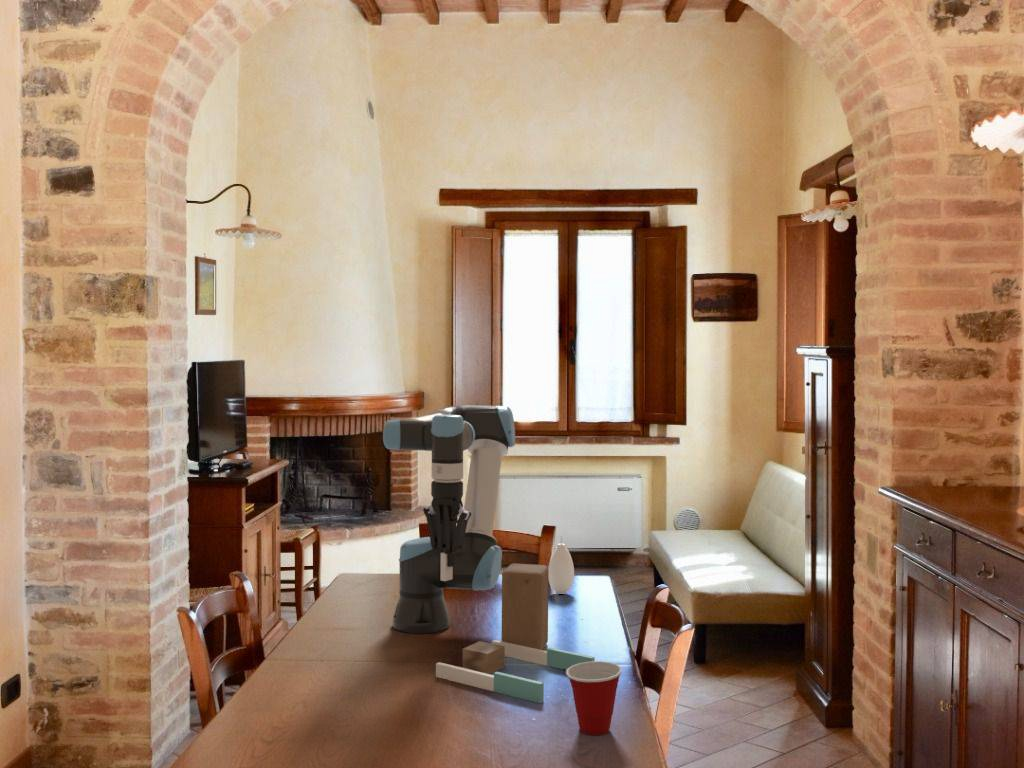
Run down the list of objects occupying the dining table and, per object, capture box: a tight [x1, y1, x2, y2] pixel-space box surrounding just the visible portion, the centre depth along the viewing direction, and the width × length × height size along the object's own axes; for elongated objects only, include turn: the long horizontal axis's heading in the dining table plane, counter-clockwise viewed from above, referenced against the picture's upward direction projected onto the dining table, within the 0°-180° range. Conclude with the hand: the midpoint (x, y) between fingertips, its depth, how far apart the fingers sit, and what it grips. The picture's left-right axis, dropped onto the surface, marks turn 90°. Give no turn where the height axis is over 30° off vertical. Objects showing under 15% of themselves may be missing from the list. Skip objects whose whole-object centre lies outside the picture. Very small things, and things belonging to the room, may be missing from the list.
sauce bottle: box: [548, 535, 575, 595], centre depth 291 cm, size 8×8×18 cm
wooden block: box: [500, 562, 549, 650], centre depth 237 cm, size 10×10×20 cm
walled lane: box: [435, 639, 596, 704], centre depth 217 cm, size 28×22×4 cm
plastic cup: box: [565, 660, 623, 736], centre depth 186 cm, size 11×11×12 cm
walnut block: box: [461, 640, 506, 675], centre depth 222 cm, size 7×7×5 cm
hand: (446, 579), depth 227 cm, fingers closed
